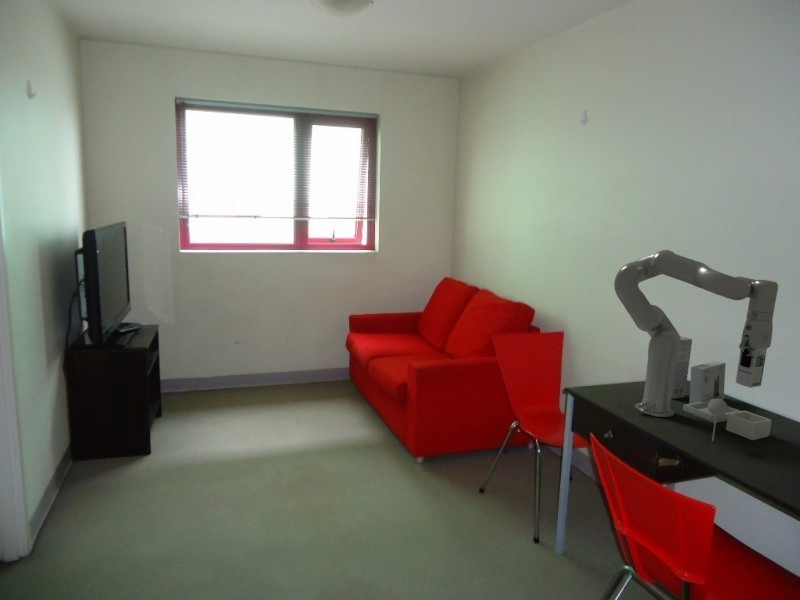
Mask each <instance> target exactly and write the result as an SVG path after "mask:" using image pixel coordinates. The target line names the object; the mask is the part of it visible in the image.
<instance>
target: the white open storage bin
mask: <svg viewBox="0 0 800 600" xmlns="http://www.w3.org/2000/svg"><path fill="white" fill-rule="evenodd" d="M772 422H773V420H772V419H770V418H768V417H765V416H761V415H760V414H759V415H758V414H756V413H752V412H750V411H748V410H740V412H735V413H730V414H728V419H727V421H726V427H725V430H726V431H728V432H731V433H733V434H736V435H738V436H741V437H743V438H746V439H748V440H751V441H755V440H759V439H762V438H763V439H764V438H767V437H769V436H770V435H771V434H770V433H771V427H772Z"/></svg>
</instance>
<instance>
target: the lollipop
mask: <svg viewBox="0 0 800 600" xmlns="http://www.w3.org/2000/svg"><path fill="white" fill-rule="evenodd" d="M727 406H728V404H727V402H726V401H724V399H723V400H722V399H717V398H716V399H712V400H710V401H709V403H708V410H709V412H710V413H711V414H712V415H714V416H715V423H713V431H712V439H711V442H714V439H715V433H716V428H717V427H716V426H717V423H716V420H717V416H722V415H724V414H725V413H726V412H727V410H728V407H727Z"/></svg>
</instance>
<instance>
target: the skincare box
mask: <svg viewBox="0 0 800 600" xmlns="http://www.w3.org/2000/svg"><path fill="white" fill-rule="evenodd" d="M725 379H726V362H721V361H715V360H713V361H710V362H705V363H702V364H697V365H694V366H691V367H690V383H689V399H688V401H689V402H688V404H691V403H696V402H704V401H707V400H712V399H716V398H717V399H722V400H723V401H724V399H725Z"/></svg>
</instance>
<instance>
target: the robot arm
mask: <svg viewBox="0 0 800 600" xmlns="http://www.w3.org/2000/svg"><path fill="white" fill-rule="evenodd" d="M660 275H663V276H666V277H670V278H673V279H674V280H675V279H676V280H679V281H681V282H684V283H686V284H688V285H692V286H694V287H696V288H700V289H702V290H705V291H707V292H709V293H712V294H713V295H717V296H720V297H722V298H726V299H729V300H732V301H741V300H745V299H747V298H749V300H748V301H749V302H748V308H747V313H746V320H745V323H744V327H743V329H742V334H741V338H740V339H741V340H740V343H739V345H738V348H739V350H741V355H742V357H741V362H740V365H741V366H744V367H747V368H750V364H751V359H752V357H751V354H752V351H753V349H762V348H767V349H769V348H771V345H772V339H773V331H774V330H773V322H774V321H773V318H774V312H775V306H776V302H777V301H776V300H777V295H778V291H779V284H778V283H777V282H776V281H773V280H770V279H769V280H767V279H753V278H749V277H744V276H733V275H732V276H731V275H729V274H726V273H723V272H720V271H718V270H715V269H714V268H711V267H710V266H708V265H707V264H705V263H704V262H701V261H698V260H695V259H691V258H688V257H685V256H683V255H679V254H676V253H675V252H674V251H672V250H669V249H663V250H659V251H657V252H656V253H654V254H651V255H648V256H646V257H644V258H641V259H637V260H634V261H632V262H628V263H626V264H624V265H623V266H622V267H621V268H620V269H619V270H618V271H617V274H616V275H615V278H614V283H613V285H614V292H615V294H616V296H617V298H618V299H619V301H620V302H621V304H622V305H623V307H624V308H625V310H626V312H627V313H628V314H629V316H630V318H631V319H632V321H633V322H634V324H635V325H636V327H637V328H638V329H639V330H640V331H642V332H646V333H647V334H648V336H650V340H649V342H648V346H647V347H648V349H647V350H648V351H647V365H646V374H645V383H644V388H643V389H644V390H643V398H642V399H641V402H637V403H635V404H634V408H635V409H638V411H640V412H642V413H643V414H646V415H648V416H653V417H659V418H669V417H673V416H674V415H675V413H674V412H675V411H674V410H673V409H672V408H670V407H671V401H672V399H671V394H672V387H673V379H674V370H675V361H676V352H677V349H678V347H679V345H680V341H681V339H680V336H681V335H680V333H679V332H678V330H677V329H676V327H675V326H674V324H673V323H672V322H671V320H670V319H669V317H668V315H667V314H666V313H665V312H664V311H663V309H662V308H661V307H660V306H657V305H656V304H651V303H650V301H649V300H648V298H647V297H646V295H645V293H644V292H642V290H641V289H640V286H639V283H642V282H645V281H647V280H649V279H653V278H655V277H658V276H660ZM747 345H749V346H750V347H747ZM746 348H747V349H749V352H748V350H747V349H746Z"/></svg>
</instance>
